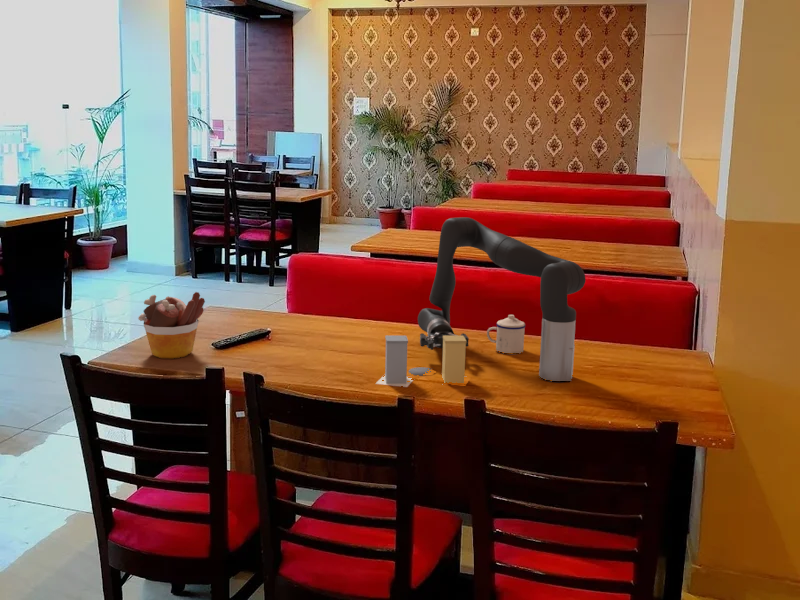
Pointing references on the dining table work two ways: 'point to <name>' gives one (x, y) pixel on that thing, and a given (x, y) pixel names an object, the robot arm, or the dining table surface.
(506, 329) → the teacup with lid
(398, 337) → the slate tea tin
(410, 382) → the cream tile
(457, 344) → the ochre tea tin
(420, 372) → the felt coaster
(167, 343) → the bucket of meat
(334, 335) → the dining table surface
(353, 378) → the dining table surface
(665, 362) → the dining table surface
